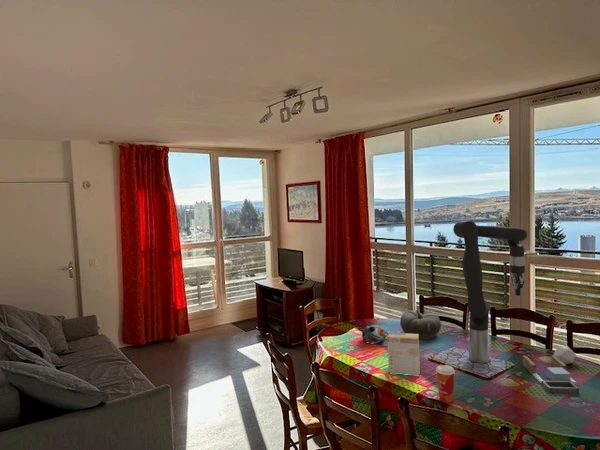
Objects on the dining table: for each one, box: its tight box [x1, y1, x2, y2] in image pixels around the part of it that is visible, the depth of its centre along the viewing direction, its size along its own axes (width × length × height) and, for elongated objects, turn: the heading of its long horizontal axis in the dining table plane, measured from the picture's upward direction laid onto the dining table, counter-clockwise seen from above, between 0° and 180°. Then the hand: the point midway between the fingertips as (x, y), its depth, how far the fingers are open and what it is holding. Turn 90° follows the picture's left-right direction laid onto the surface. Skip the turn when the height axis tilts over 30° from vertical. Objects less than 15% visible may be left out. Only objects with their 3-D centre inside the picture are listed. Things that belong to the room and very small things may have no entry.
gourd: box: [399, 309, 442, 340], centre depth 257 cm, size 25×25×17 cm
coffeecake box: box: [387, 331, 421, 376], centre depth 203 cm, size 15×7×20 cm, turn 71°
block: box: [545, 366, 571, 381], centre depth 188 cm, size 7×7×4 cm
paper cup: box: [435, 364, 456, 403], centre depth 174 cm, size 8×8×14 cm
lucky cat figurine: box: [361, 324, 389, 344], centre depth 249 cm, size 15×12×14 cm
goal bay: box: [532, 372, 577, 385], centre depth 189 cm, size 15×9×1 cm, turn 81°
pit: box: [541, 380, 580, 395], centre depth 178 cm, size 12×7×2 cm, turn 81°
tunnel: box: [522, 355, 567, 376], centre depth 199 cm, size 15×12×5 cm
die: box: [552, 345, 577, 365], centre depth 206 cm, size 8×9×10 cm
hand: (517, 295), depth 221 cm, fingers closed
